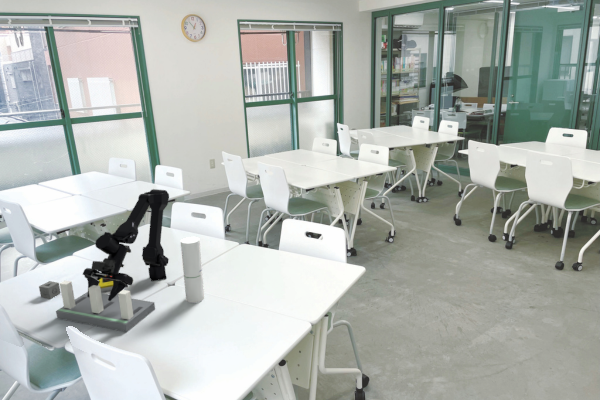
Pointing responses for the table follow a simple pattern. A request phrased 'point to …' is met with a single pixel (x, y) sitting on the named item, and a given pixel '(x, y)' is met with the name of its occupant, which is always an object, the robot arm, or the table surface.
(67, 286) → the slotted peg board
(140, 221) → the robot arm
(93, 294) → the handle
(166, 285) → the table surface
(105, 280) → the emergency button
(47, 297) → the dice cube
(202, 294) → the cylindrical container
